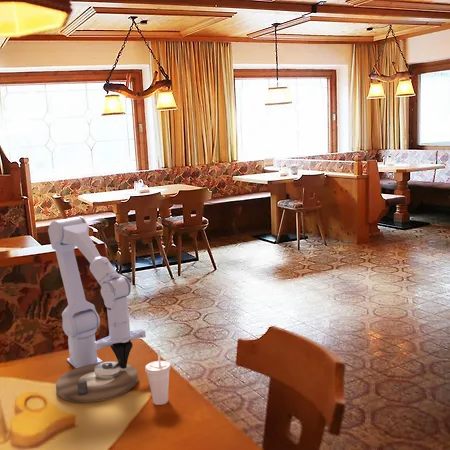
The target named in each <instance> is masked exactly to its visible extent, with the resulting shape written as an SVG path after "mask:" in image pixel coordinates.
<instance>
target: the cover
mask: <svg viewBox="0 0 450 450" xmlns="http://www.w3.org/2000/svg"><path fill="white" fill-rule="evenodd" d="M94 370H95V378H96V379H98V380H111V379H114V378H117V377H119V376H120V375H121V369H120V364H119V363H118V361H105V362H104V363H103V362H102V363H100V364H98V365H97V366H95V368H94Z"/></svg>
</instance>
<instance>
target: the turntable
mask: <svg viewBox="0 0 450 450" xmlns="http://www.w3.org/2000/svg"><path fill="white" fill-rule="evenodd" d="M102 363H104V362H103V361H102ZM98 364H100V363H95V364H90V365H85V366H82V367H79V368H73V369H72V370H69V371H67V372H65V373H64V374H62V375H61V376H60V377H59V378H58V379H57V381H56V383H55V389H56V390H55V391H56V394H57V395H58V396H59V397H60V398H61V399H63V400H66V401H69V402H74V403H75V402H77V403H78V402H79V403H92V402H93V403H94V402H98V401H99V402H100V401H105V400H109V399H113V398H116V397H118V396H121V395H123V394H125V393H127V392H129V391H130V390H131V389H133V388H134V387H135V386H136V385H137V383H138V382H139V372H138V369H137V368H135V366H132V365H131V364H128V363H127V368H124V369H122V368H121V367H120V369H121V375H120V376H119V377H117V378H114V379H111V380H98V379H96V378H95V370H94V368H95V366H97V365H98Z"/></svg>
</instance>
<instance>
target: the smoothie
mask: <svg viewBox="0 0 450 450" xmlns="http://www.w3.org/2000/svg"><path fill="white" fill-rule="evenodd" d="M156 351H157V360H155V361H151V362H149V363H147V364H146V365H145V367H144V368H145V369H144V370H145V373H146V374H147V379H148V384H149V388H150V393H151V397H152V400H153V401H152V402H153V404H154V405H157V406H161V405H165V404H167V403H168V402H169V385H170V370H171V363H170V362H168V361H166V360H161V351H160V348H157V349H156Z"/></svg>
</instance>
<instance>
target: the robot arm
mask: <svg viewBox="0 0 450 450" xmlns="http://www.w3.org/2000/svg"><path fill="white" fill-rule="evenodd" d="M47 229H48V230H47V233H48V236H49V241H50V245H51V249H52V250H54V251H55V254H56V259H57V263H58V267H59V271H60V276H61V279H62V283H63V284H62V285H63V288H64V291H65V296H66V299H67V306H66V307H65V308H64V310H63V311H62V313H61V318H62V324H61V325H62V330H63V332H64V334H65V335H66V336H67V337H68V338H67V344H68V352H69V357H68V358H66V361H67V362H69V364H70V365H72V366H73V367H74V369H76V368H79V367H82V366H85V365H90V364H95V363H103V360H102V359H100V357H98V351H100V350H101V349H103V348H107V347H110V349H111V350H112V352H113V354H114V355H115V358H116V359H117V362H118V363H119V364H120V367H121V368H122V369H124V368H127V364H128V360H129V356H130V353H131V350H132V348H133V342H131V341H134V340H137V339H140V338H142V339H144V338H146V330H145V329H143V328H140V329H136V330H135V329H134V330H131V327H130V314H129V304H128V303H129V302H128V296H130V294H131V292H132V291H131V289H132V288H131V283H130V281H129V279H128V278H127V277H126V276H124V275H122V274H121V273H118V272H117V270H116V268H114V266H113V264H112V263H111V262H110V260H109V259H108V258H107V257H106V256H101V254H100V253H99V251H98V249H97V247H96V245H95V244H94V241H93V240H92V239H91V236H90V235H89V233H90V232H89V231H90V227H89V224H88V222H87V221H86V219H85V218H84V217H83V216H81V215H77V216H75V217H68V218H64V219H58V220H52V221H51V222H50V224H49V227H48V228H47ZM76 248H77V249H78V250H79V251H80V253H82V255H83V256H84V257H85V259H86V260H87V261H88V263H89V271H90V273H91V274H92V275H93V277H94V278H95V280H96V282H97V283H98V284H99V285H100V295H101V297H102V299H103V304H104V305H105V306H104V307H106V312H107V323H108V332H109V333H108V336H106V337H103V338H100V339H97V340H96V333H97V332H98V328H99V327H100V324H101V320H100V318H101V317H100V315H99V314H98V312H97V310H96V306H95V304H93V303H91V302H90V301H88V300H86V296H85V291H84V286H83V283H82V279H81V274H80V271H79V266H78V261H77V258H76V254H75V249H76Z"/></svg>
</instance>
